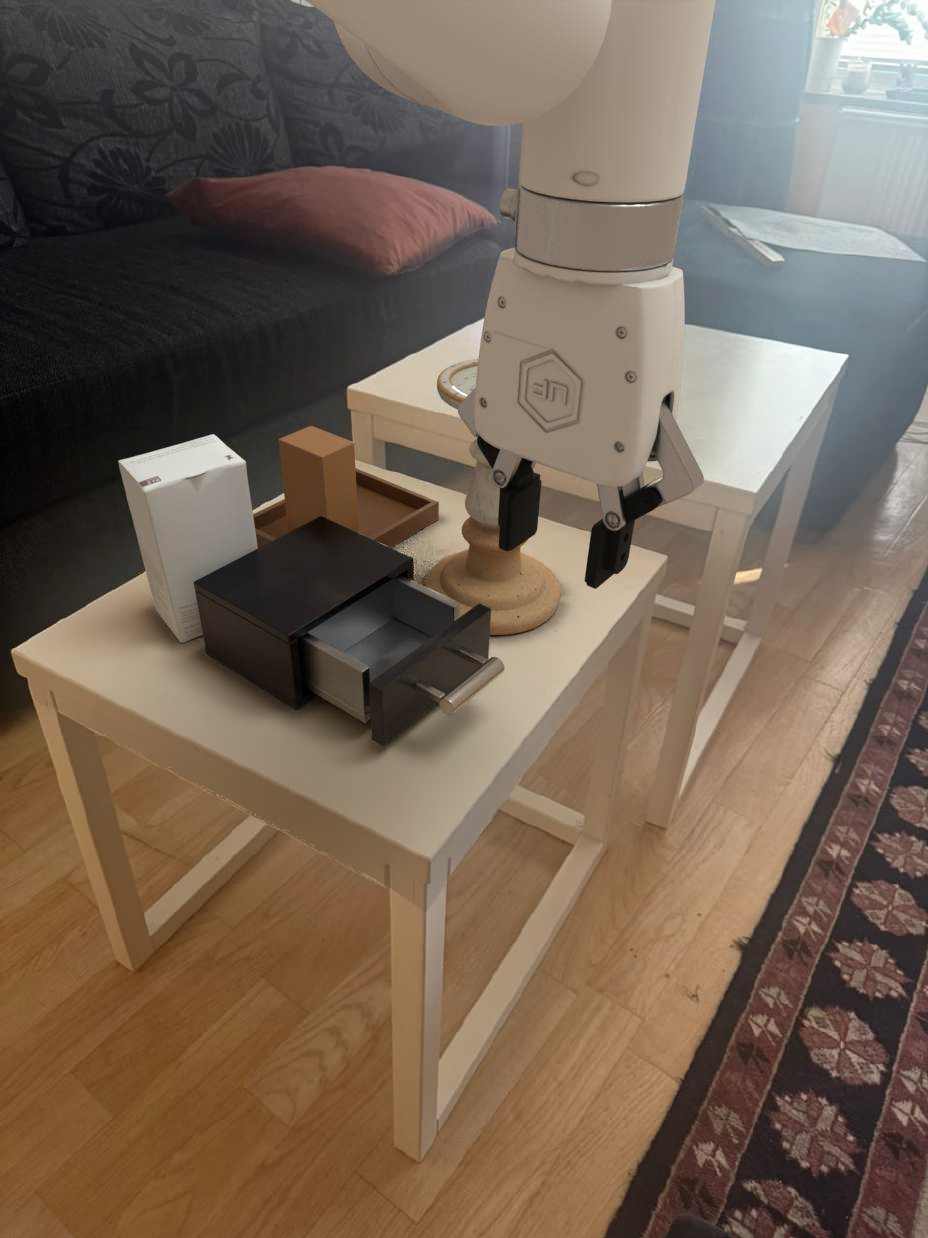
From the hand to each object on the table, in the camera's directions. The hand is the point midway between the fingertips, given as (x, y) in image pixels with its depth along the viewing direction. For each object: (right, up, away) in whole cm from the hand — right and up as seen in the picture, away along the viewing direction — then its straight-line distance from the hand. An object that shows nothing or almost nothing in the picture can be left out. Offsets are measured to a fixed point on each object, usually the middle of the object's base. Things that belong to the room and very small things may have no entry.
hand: (559, 556), depth 51 cm
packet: (-19, +3, +32) cm, 37 cm away
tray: (-18, +5, +36) cm, 40 cm away
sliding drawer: (-10, -9, +15) cm, 20 cm away
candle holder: (-3, -2, +27) cm, 28 cm away
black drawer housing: (-18, -6, +21) cm, 28 cm away
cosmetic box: (-28, -3, +24) cm, 37 cm away
